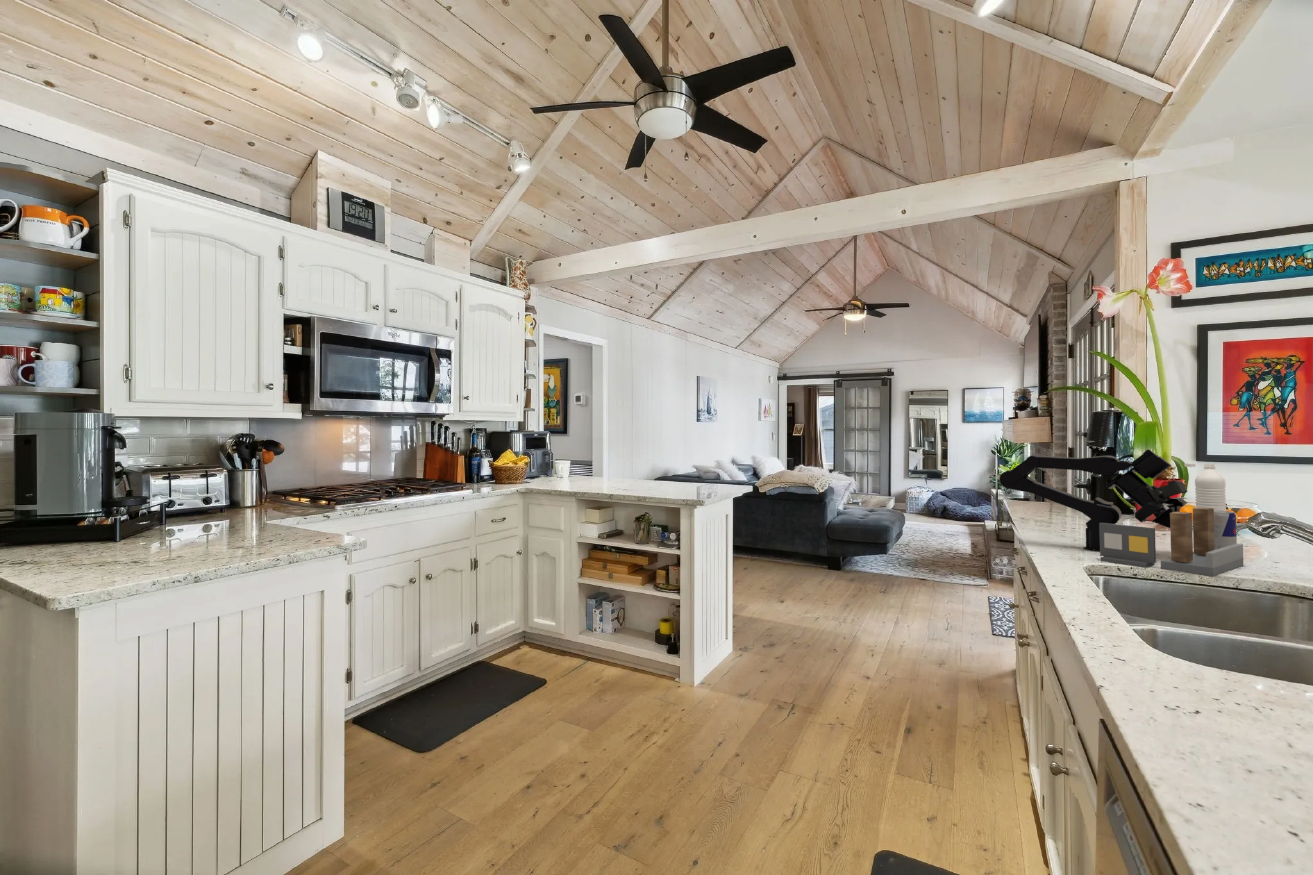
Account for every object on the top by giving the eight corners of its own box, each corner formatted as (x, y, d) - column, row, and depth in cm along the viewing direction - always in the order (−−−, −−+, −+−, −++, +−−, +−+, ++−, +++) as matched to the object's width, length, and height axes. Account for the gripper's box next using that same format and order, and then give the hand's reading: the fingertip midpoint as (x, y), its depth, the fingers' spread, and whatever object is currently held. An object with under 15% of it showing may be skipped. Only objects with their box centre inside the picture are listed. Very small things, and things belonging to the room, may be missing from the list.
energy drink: (1242, 556, 158) (1241, 513, 158) (1219, 556, 159) (1218, 512, 159) (1227, 552, 163) (1226, 510, 163) (1205, 552, 164) (1204, 510, 164)
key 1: (1171, 560, 146) (1169, 512, 146) (1177, 558, 148) (1176, 511, 148) (1186, 562, 143) (1185, 514, 143) (1193, 560, 145) (1191, 512, 145)
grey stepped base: (1160, 568, 147) (1160, 547, 147) (1192, 558, 157) (1192, 538, 157) (1213, 576, 138) (1212, 553, 138) (1243, 565, 148) (1242, 544, 148)
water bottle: (1224, 547, 171) (1222, 462, 171) (1229, 551, 165) (1227, 464, 165) (1184, 544, 176) (1182, 462, 176) (1188, 548, 170) (1186, 463, 170)
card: (1096, 560, 158) (1095, 523, 158) (1105, 558, 161) (1104, 522, 161) (1150, 568, 148) (1149, 529, 148) (1159, 565, 150) (1158, 527, 150)
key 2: (1193, 553, 153) (1192, 508, 153) (1199, 551, 155) (1198, 507, 155) (1208, 555, 150) (1207, 509, 150) (1214, 553, 152) (1213, 508, 152)
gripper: (1147, 472, 155) (1203, 517, 146) (1176, 469, 165) (1230, 511, 155) (1113, 499, 162) (1164, 544, 152) (1143, 494, 171) (1193, 536, 162)
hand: (1189, 533), depth 155 cm, fingers closed
